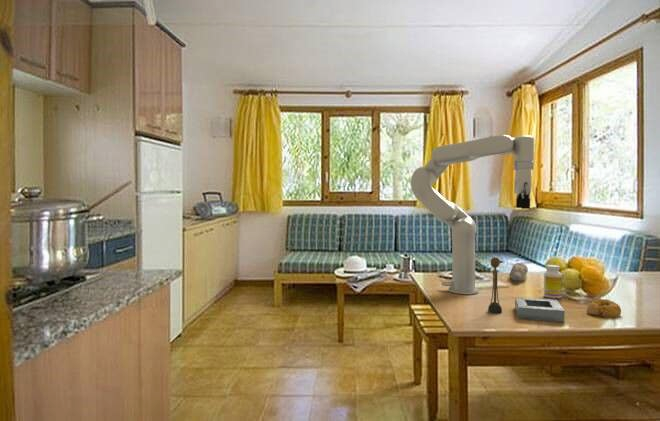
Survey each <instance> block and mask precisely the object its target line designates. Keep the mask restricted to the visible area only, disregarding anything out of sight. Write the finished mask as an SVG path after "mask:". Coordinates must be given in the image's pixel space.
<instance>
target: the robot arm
mask: <svg viewBox="0 0 660 421" xmlns="http://www.w3.org/2000/svg"><path fill="white" fill-rule="evenodd" d="M495 155H500V156H506V155H507V156H509V155H513V171H515V173H514V186H513V193H514V194H515V195H516V198H515V200H516V201H515V206H516V207H515V208H516V209H520V208H521V210H522V209H525V210H527V209H528V210H529V209H530V208H531V195H530V194H531V192H532V171H533V170H534V167H535V166H534V165H535V164H534V162H535V160H534V159H535V158H534V157H535V138H534V136H532V135H519V136H518V135H517V136H516V137H511V136H510V135H507V134H500V135H493V136H488V137H482V138H478V139H472V140H467V141H461V142H457V143H456V142H455V143H453V144H452V143H451V144H446V145H440V146H439V145H438V146H436V147H435V148H433V150H431V155H430V159H429V161H428V162H427V163H426V164H425V165H424V166H419V167H418V168H417V167H416V169H415V170H414V171H413V172H412V176H411V178H410V188H411V192H412V194H413V195H414V197H415V198H416V200H418V201H419V203H420V204H422V206H424V208H425V209H427V210H428V212H429V213H431V215H433V217H434V218H436V219H437V220H438V221H439V222H440V223H442V224H446V225H447V227H449V228H450V229H451V248H452V249H451V251H452V252H451V254H452V256H451V261H452V263H451V266H452V267H451V269H452V271H451V274H452V276H451V280H448V281H447V280H441V286H444V287H448V291H449V293H453V294H456V295H457V294H458V295H476V294H479V292H480V289H479V288H477V287H476V233H477V231H478V230H477V229H478V226H477V223H476V222H475V221H474V219H473V218H472V217H471V216H469V215H468V214H467V213H466V212H465V211H464V210H463V209H462V208H460V207H459V205H458V204H456V203H455V202H453V201H449V200H447V199H446V198H445V197H444V196H442V195H441V194H440V193H439V192H438V191H437V190H436V189H435V188H433V186H432V185H434V183H436V181H438V180H439V178H440V177H441V176H442V175H443V173H444V172H445V171H446V170H447V168H448V167H450V165H453V164H460V163H467V162H472V161H475V160H477V159H479V158H484V157H489V156H495Z"/></svg>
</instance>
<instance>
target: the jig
mask: <svg viewBox="0 0 660 421" xmlns="http://www.w3.org/2000/svg"><path fill="white" fill-rule="evenodd" d="M514 310H515V311H516V315H517V318H518V320H526V321H541V322H555V323H565V309H564V308H563V306H562V305H561V303H560V302H559V301H558V300H557V299H551V298H531V297H520V296H519V297H517V296H516V297H514Z"/></svg>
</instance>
